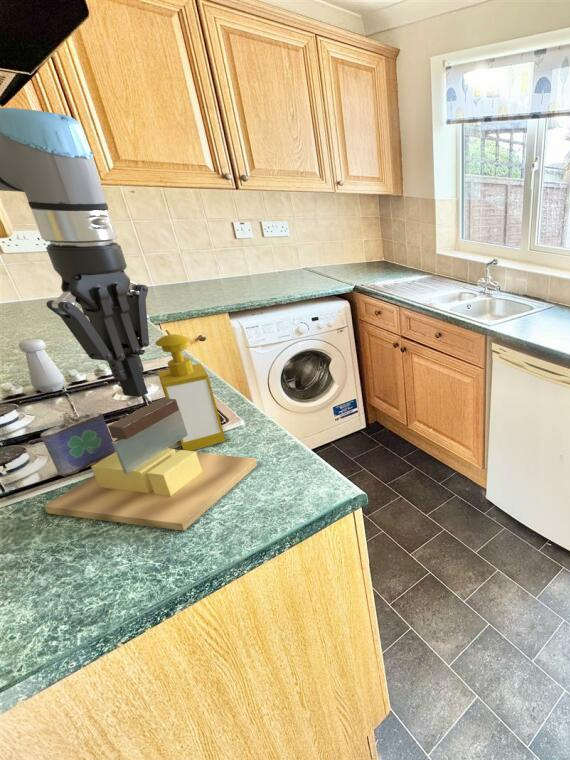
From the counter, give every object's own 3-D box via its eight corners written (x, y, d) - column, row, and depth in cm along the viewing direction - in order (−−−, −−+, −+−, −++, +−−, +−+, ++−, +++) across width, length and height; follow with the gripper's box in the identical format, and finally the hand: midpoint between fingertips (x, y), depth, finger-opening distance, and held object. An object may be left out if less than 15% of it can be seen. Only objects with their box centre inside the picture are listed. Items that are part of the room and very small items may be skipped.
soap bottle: (212, 417, 98) (185, 320, 88) (225, 441, 90) (197, 336, 80) (174, 427, 94) (141, 326, 84) (184, 452, 85) (149, 343, 75)
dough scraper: (118, 473, 67) (100, 429, 64) (180, 434, 78) (167, 395, 75) (133, 474, 67) (115, 431, 64) (192, 435, 78) (180, 396, 74)
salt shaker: (69, 382, 110) (49, 335, 104) (67, 390, 106) (46, 342, 100) (37, 387, 106) (14, 339, 101) (33, 396, 102) (10, 346, 97)
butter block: (100, 487, 73) (90, 466, 71) (137, 463, 79) (129, 443, 77) (148, 493, 72) (139, 472, 70) (181, 469, 78) (174, 449, 76)
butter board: (47, 513, 69) (43, 506, 68) (145, 452, 85) (143, 445, 84) (184, 531, 67) (181, 523, 66) (257, 465, 83) (256, 458, 83)
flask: (65, 478, 76) (41, 427, 72) (54, 474, 77) (29, 424, 73) (120, 451, 85) (102, 404, 80) (110, 448, 85) (90, 402, 81)
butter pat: (154, 494, 72) (146, 472, 70) (187, 469, 78) (180, 449, 76) (170, 496, 72) (163, 474, 70) (202, 471, 78) (196, 451, 76)
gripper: (56, 250, 52) (119, 416, 62) (150, 239, 64) (190, 380, 73) (1, 245, 52) (72, 410, 62) (104, 235, 64) (150, 376, 74)
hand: (136, 394), depth 68 cm, fingers closed
